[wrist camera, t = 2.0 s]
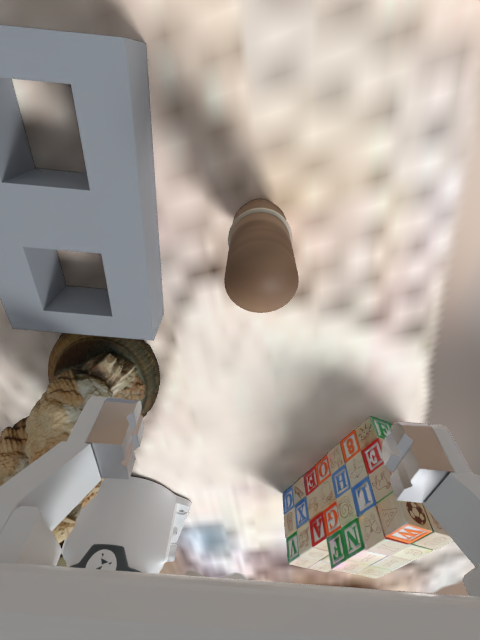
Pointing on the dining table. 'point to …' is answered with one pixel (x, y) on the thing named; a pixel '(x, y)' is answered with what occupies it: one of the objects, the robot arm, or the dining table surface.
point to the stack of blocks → (356, 512)
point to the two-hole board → (80, 189)
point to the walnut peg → (260, 258)
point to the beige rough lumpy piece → (79, 400)
